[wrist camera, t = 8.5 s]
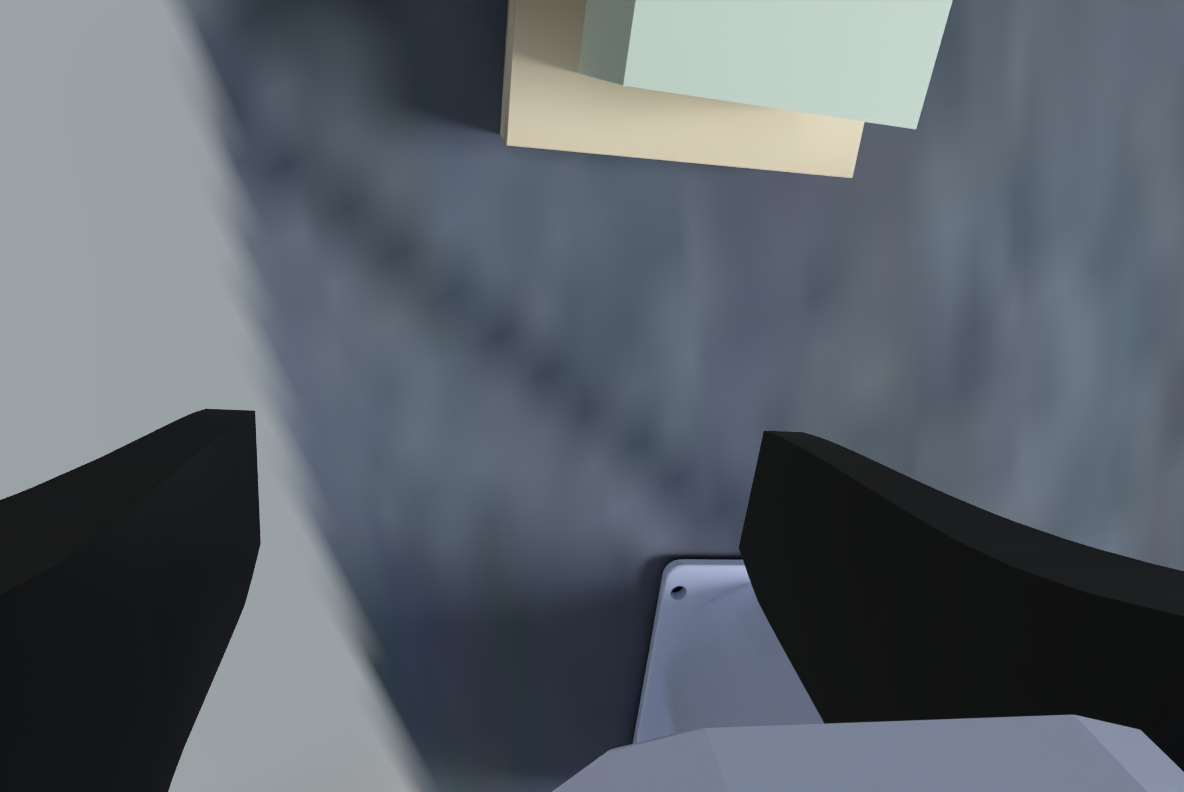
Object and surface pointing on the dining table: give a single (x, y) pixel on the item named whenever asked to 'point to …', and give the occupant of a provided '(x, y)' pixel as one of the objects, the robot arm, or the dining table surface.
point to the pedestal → (647, 109)
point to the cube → (773, 52)
